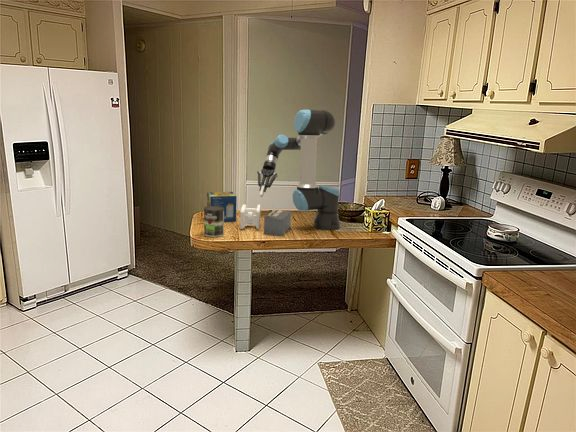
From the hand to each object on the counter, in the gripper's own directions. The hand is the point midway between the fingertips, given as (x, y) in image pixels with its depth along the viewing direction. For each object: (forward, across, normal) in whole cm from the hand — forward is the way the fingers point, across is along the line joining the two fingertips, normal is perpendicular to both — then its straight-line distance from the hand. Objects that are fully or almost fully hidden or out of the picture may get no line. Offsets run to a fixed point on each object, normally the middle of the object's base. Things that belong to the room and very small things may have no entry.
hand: (261, 196), depth 261 cm
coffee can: (+38, +12, +20) cm, 45 cm away
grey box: (+25, -17, +6) cm, 30 cm away
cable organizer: (+24, -1, +6) cm, 25 cm away
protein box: (+20, +19, 0) cm, 27 cm away
